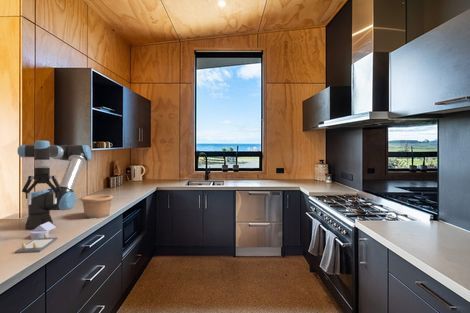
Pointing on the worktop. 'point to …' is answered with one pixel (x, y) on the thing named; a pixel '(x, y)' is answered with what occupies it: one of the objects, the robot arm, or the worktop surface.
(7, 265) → the worktop surface
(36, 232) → the wedge on round base
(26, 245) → the pin plate
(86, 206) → the pottery
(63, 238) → the worktop surface
